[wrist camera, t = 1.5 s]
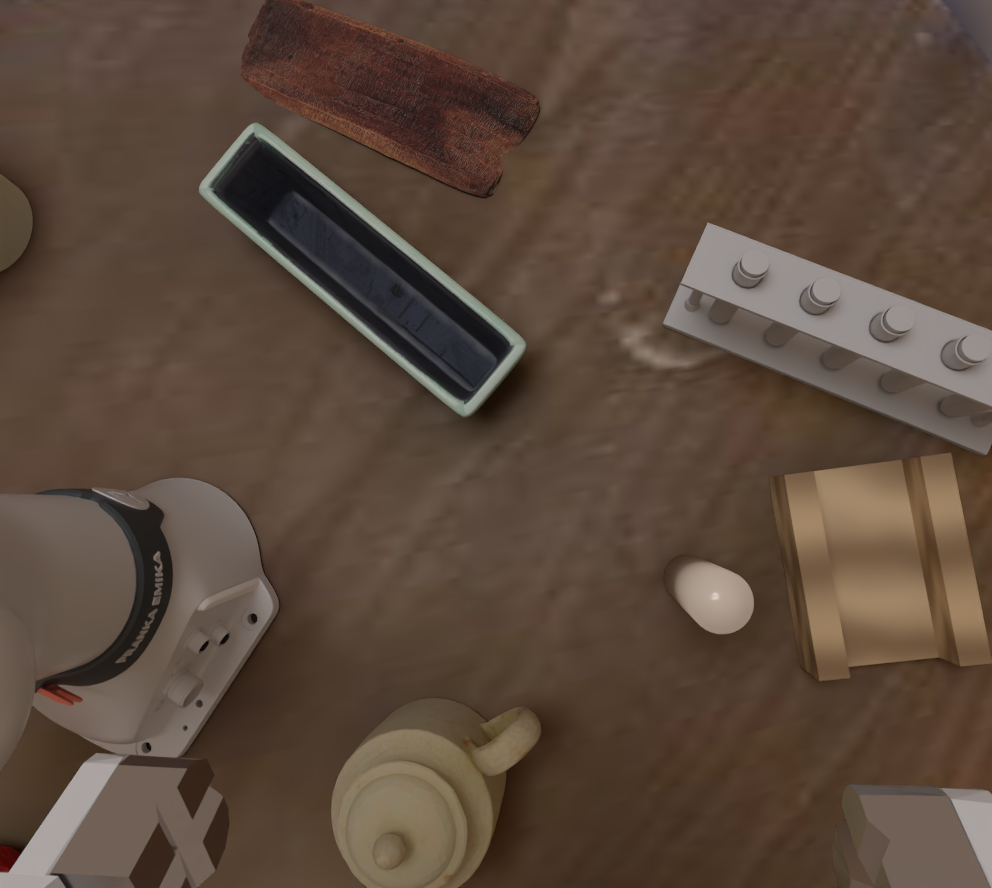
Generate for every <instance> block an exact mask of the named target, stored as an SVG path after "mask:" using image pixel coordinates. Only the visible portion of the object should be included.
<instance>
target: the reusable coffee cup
mask: <svg viewBox="0 0 992 888" xmlns="http://www.w3.org/2000/svg"><path fill="white" fill-rule="evenodd" d="M32 227H33V216H32V210H31V207H30V204H29V201H28V199H27V198H26V196H25V194H24V193H23V192H22V191H21V190H20V189H19V188H18V187H17V186H16V185H14V184H13V183H12V182H10V181H9V180H8V179H7V178H5V177H4V176H3V175H1V174H0V272H1V271H3V270H5V269H7V268H8V267H9V266H11V265H12V264H13V263H14V262H15V261H16V260H17V259H18V258H19V257H20V256H21V255H22V253H23V252H24V250H25V249H26V247H27V245H28V242H29V240H30V237H31V233H32Z"/></svg>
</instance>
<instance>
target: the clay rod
mask: <svg viewBox="0 0 992 888" xmlns="http://www.w3.org/2000/svg"><path fill="white" fill-rule="evenodd" d="M663 579H664V585H665V588H666V590H667V591H668V593H669V594H670V595H671V596H672V597H673V598H674V599H675V600H676V601H677V602H678V603H679V604H680V605H681V607H682V608H683V609H684V610H685V611H686V612H687V613H688V614H689V615H690V616H691V617H692V618H693V619H694V620H695V621H696V622H697V623H698V624H699V625H700V626H701V627H702V628H704V629H705V630H707V631H709V632H712V633H716V634H729V633H733V632H735V631H737V630H739V629H741V628H742V627H743V626H744V625H745V624H746V623H747V622H748V621H749V619H750V617H751V615H752V612H753V608H754V598H753V594H752V591H751V589H750V587H749V585H748V584H747V583H746V581H745V580H744V579H743V578H741V577H740V576H739V575H737V574H735V573H733V572H731V571H729V570H726V569H724V568H722V567H720V566H717V565H715V564H713V563H711V562H708V561H706V560H704V559H702V558H699V557H697V556H694V555H688V554H686V555H680V556H677V557H675V558H674V559H672V560H671V561H670V562H669V563H668V565H667V566H666V568H665V571H664V576H663Z"/></svg>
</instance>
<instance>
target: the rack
mask: <svg viewBox="0 0 992 888" xmlns="http://www.w3.org/2000/svg"><path fill="white" fill-rule="evenodd" d="M768 479H769V485H770V491H771V496H772V502H773V508H774V514H775V520H776V526H777V532H778V538H779V543H780V549H781V555H782V561H783V567H784V573H785V579H786V585H787V590H788V596H789V602H790V608H791V614H792V620H793V626H794V632H795V637H796V643H797V649H798V655H799V661H800V667H801V668H803V669H804V670H805V671H807V672H808V673H809V674H811V675H812V676H813V677H815V678H816V679H817V680H819V681H825V680H835V679H845V678H850V673H849V667H853V666H862V665H872V664H881V663H891V662H900V661H909V660H919V659H928V658H938V657H939V658H942V659H944V660H946V661H949V662H951V663H953V664H956V665H958V666H969V665H979V664H989V663H992V659H991V654H990V649H989V644H988V639H987V634H986V628H985V623H984V618H983V613H982V608H981V603H980V598H979V593H978V588H977V583H976V577H975V572H974V567H973V562H972V557H971V552H970V547H969V542H968V537H967V532H966V526H965V521H964V516H963V511H962V506H961V501H960V496H959V491H958V486H957V481H956V475H955V470H954V465H953V460H952V455H951V453H945V454H937V455H930V456H922V457H916V458H909V459H903V460H895V461H888V462H880V463H873V464H865V465H858V466H851V467H843V468H836V469H828V470H821V471H811V472H803V473H796V474H788V475H781V476H775V477H769V478H768Z"/></svg>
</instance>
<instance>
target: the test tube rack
mask: <svg viewBox="0 0 992 888" xmlns="http://www.w3.org/2000/svg"><path fill="white" fill-rule="evenodd" d="M737 263H738V264H737ZM736 264H737V266H736ZM735 266H736V267H735ZM734 267H735V269H734ZM733 269H734V270H733ZM760 279H761V281H760ZM759 281H760V282H759ZM758 282H759V284H758V285H757V283H758ZM756 285H757V286H756ZM808 287H809V288H808ZM807 288H808V289H807ZM805 289H807V290H806V291H804V290H805ZM803 291H804V292H803ZM826 309H827V311H826V312H824V311H825V310H826ZM823 312H824V313H823ZM822 313H823V314H822ZM821 314H822V315H821ZM877 314H879V315H878V316H876V315H877ZM875 316H876V317H875ZM873 317H875V318H873ZM662 326H664V327H666V328H669V329H671V330H674V331H676V332H679V333H681V334H684V335H686V336H688V337H691V338H693V339H696V340H698V341H701V342H703V343H706V344H708V345H711V346H713V347H716V348H718V349H721V350H723V351H725V352H728V353H730V354H733V355H735V356H738V357H740V358H743V359H745V360H748V361H750V362H752V363H755V364H757V365H760V366H762V367H765V368H767V369H770V370H772V371H775V372H777V373H779V374H782V375H784V376H787V377H789V378H792V379H794V380H797V381H799V382H802V383H804V384H806V385H809V386H811V387H814V388H816V389H819V390H821V391H824V392H826V393H829V394H831V395H833V396H836V397H838V398H841V399H843V400H846V401H848V402H851V403H853V404H856V405H858V406H860V407H863V408H865V409H868V410H870V411H873V412H875V413H878V414H880V415H883V416H885V417H888V418H890V419H892V420H895V421H897V422H900V423H902V424H905V425H907V426H910V427H912V428H915V429H917V430H919V431H922V432H924V433H927V434H929V435H932V436H934V437H937V438H939V439H941V440H944V441H946V442H949V443H951V444H954V445H956V446H959V447H961V448H963V449H966V450H968V451H971V452H973V453H976V454H978V455H981V456H983V455H987V453H988V451H989V449H990V447H991V444H992V331H991V330H988V329H986V328H983V327H980V326H978V325H975V324H972V323H970V322H967V321H965V320H962V319H959V318H957V317H954V316H951V315H949V314H946V313H944V312H941V311H938V310H936V309H933V308H931V307H928V306H925V305H923V304H920V303H917V302H915V301H912V300H910V299H907V298H904V297H902V296H899V295H896V294H894V293H891V292H889V291H886V290H883V289H881V288H878V287H876V286H873V285H870V284H868V283H865V282H862V281H860V280H857V279H855V278H852V277H849V276H847V275H844V274H841V273H839V272H836V271H834V270H831V269H828V268H826V267H823V266H820V265H818V264H815V263H813V262H810V261H807V260H805V259H802V258H800V257H797V256H794V255H792V254H789V253H786V252H784V251H781V250H779V249H776V248H773V247H771V246H768V245H765V244H763V243H760V242H758V241H755V240H752V239H750V238H747V237H745V236H742V235H739V234H737V233H734V232H731V231H729V230H726V229H724V228H721V227H718V226H716V225H713V224H710V223H708V224H707V226H706V228H705V230H704V232H703V235H702V237H701V239H700V241H699V243H698V246H697V248H696V250H695V252H694V255H693V257H692V259H691V261H690V264H689V266H688V268H687V270H686V273H685V275H684V277H683V279H682V281H681V284H680V286H679V288H678V290H677V293H676V295H675V297H674V299H673V302H672V304H671V306H670V308H669V310H668V313H667V315H666V317H665V319H664V322H663V324H662ZM895 338H896V339H895ZM893 339H895V340H894V341H892V340H893ZM890 341H892V342H890ZM951 341H953V342H951ZM888 342H889V343H888ZM949 342H951V343H949ZM947 343H949V344H947ZM946 344H947V345H946ZM967 367H968V368H967ZM964 368H966V369H965V370H963V371H959V370H962V369H964Z"/></svg>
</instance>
